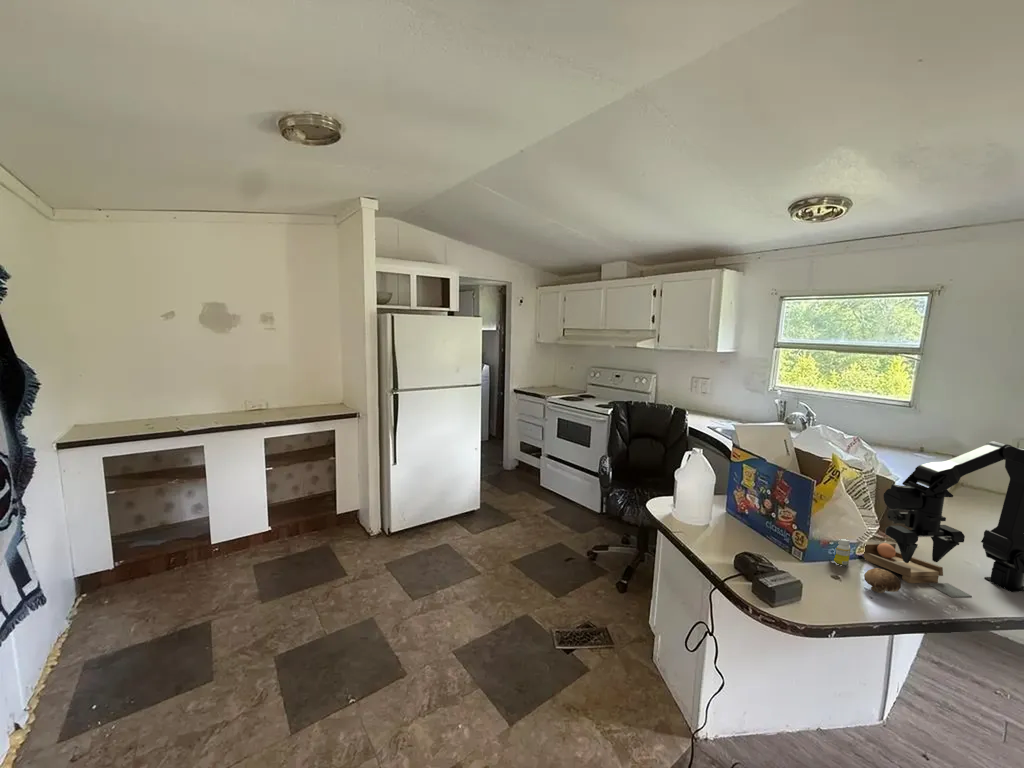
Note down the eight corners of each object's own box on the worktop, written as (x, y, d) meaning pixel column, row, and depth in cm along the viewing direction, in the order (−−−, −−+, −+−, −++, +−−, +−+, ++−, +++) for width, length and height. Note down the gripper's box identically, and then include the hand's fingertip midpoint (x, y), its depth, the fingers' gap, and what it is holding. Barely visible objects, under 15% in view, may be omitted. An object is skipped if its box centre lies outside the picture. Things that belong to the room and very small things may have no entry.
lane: (889, 555, 137) (891, 541, 137) (941, 584, 122) (944, 568, 121) (858, 556, 136) (860, 542, 136) (906, 585, 121) (908, 569, 120)
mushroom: (854, 584, 121) (857, 563, 120) (883, 585, 120) (886, 564, 120) (877, 601, 113) (880, 579, 112) (908, 603, 112) (911, 580, 112)
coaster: (947, 584, 122) (947, 582, 121) (971, 597, 116) (971, 595, 116) (928, 584, 121) (928, 583, 121) (951, 598, 115) (951, 596, 115)
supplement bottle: (829, 557, 135) (832, 532, 134) (848, 563, 132) (851, 537, 131) (828, 564, 131) (831, 538, 130) (848, 569, 128) (851, 543, 127)
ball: (887, 540, 135) (900, 547, 131) (884, 553, 136) (898, 561, 131) (874, 540, 134) (887, 548, 130) (872, 553, 135) (885, 561, 131)
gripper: (928, 498, 130) (921, 547, 132) (871, 499, 128) (865, 548, 130) (970, 514, 119) (961, 567, 120) (908, 515, 117) (901, 568, 119)
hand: (920, 562), depth 123 cm, fingers open, 9 cm apart
